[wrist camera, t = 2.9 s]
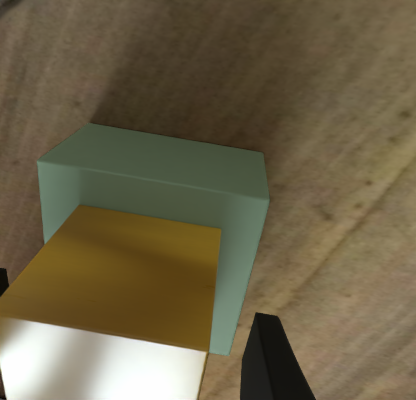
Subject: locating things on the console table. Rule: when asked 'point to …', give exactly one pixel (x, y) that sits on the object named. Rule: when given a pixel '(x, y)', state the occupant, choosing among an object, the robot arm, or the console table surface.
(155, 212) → the base block
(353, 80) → the console table surface
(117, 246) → the top cube
